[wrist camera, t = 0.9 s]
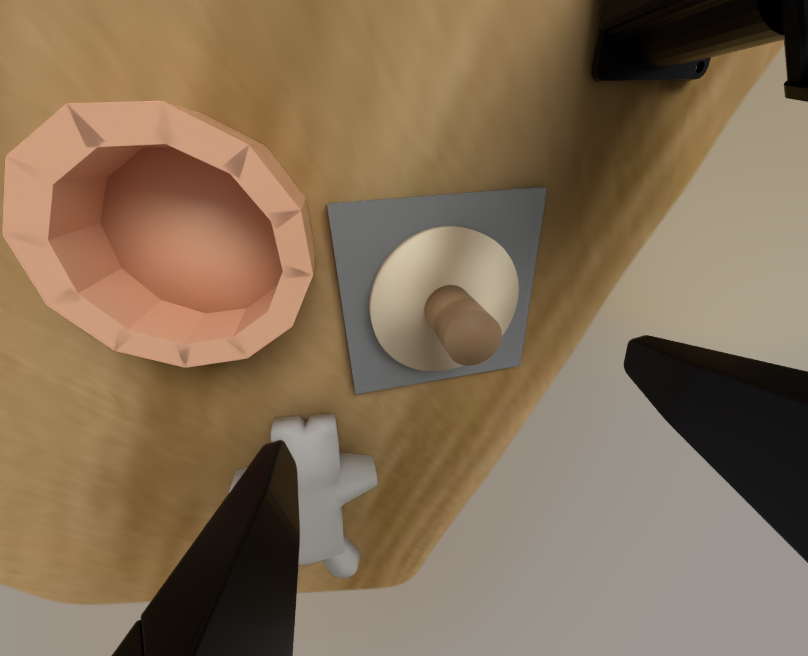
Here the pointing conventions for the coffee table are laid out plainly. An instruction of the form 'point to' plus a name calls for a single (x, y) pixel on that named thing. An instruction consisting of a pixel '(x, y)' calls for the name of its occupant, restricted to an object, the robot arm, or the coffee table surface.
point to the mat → (396, 221)
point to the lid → (443, 298)
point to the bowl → (159, 231)
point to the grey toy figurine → (323, 488)
